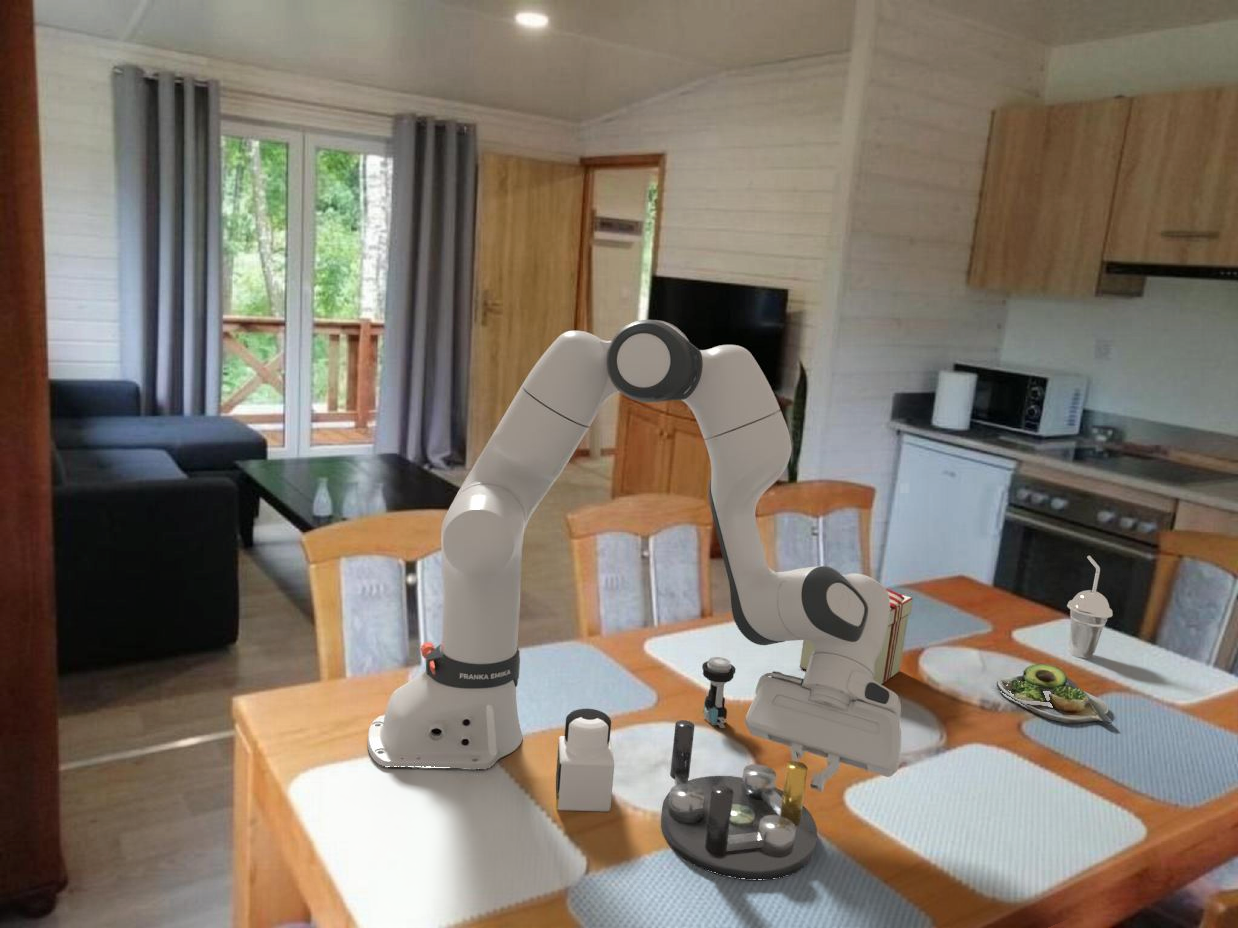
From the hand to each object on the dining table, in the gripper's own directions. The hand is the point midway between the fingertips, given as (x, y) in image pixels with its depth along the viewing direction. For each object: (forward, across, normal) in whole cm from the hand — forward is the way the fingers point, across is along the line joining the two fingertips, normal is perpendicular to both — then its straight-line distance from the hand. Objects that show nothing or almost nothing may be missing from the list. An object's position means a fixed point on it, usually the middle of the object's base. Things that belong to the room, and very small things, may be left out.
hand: (806, 785), depth 120 cm
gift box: (-36, -8, +48) cm, 61 cm away
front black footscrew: (+10, -4, -4) cm, 12 cm away
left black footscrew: (+7, -15, 0) cm, 17 cm away
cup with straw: (-63, +31, +76) cm, 103 cm away
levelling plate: (+8, -7, +2) cm, 11 cm away
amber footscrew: (+3, -4, +4) cm, 7 cm away
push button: (-11, -21, +22) cm, 32 cm away
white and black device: (+11, -28, -1) cm, 30 cm away
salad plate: (-42, +26, +55) cm, 74 cm away
